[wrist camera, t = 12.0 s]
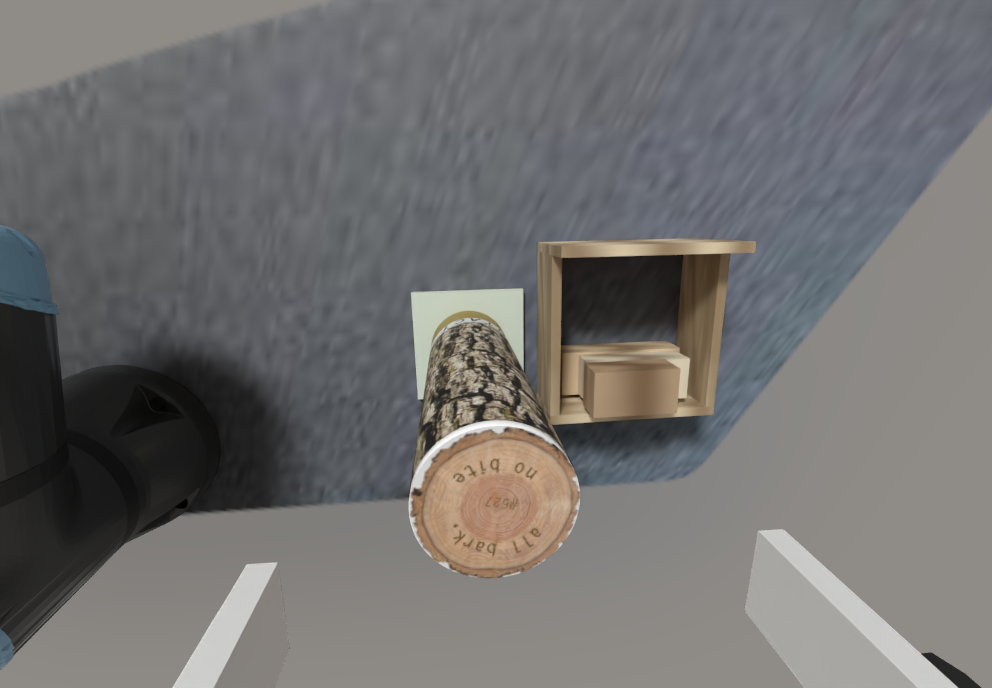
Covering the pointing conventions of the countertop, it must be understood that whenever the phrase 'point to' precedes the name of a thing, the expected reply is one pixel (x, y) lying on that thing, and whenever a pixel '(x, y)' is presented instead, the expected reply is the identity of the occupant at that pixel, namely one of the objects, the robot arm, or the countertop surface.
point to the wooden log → (487, 458)
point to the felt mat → (443, 304)
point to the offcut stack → (625, 377)
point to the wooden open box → (694, 329)
